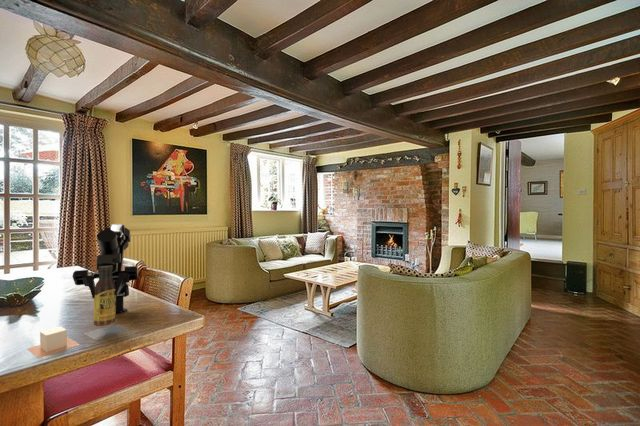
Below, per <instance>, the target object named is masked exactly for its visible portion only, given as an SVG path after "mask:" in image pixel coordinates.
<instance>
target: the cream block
mask: <svg viewBox="0 0 640 426" xmlns="http://www.w3.org/2000/svg"><path fill="white" fill-rule="evenodd" d="M39 335H40V336H39V337H40V339H39V341H40V342H39V343H40V344H39V345H40V348H41V349H43V350H44V351H45V352H48V351H52V350H55V349H58V348H61V347H64V346H67V337H68V330H67V329H66V328H64V327H62V326H61V325H60V326H57V327H52V328H50V329H45V330H41V331H39Z"/></svg>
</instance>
